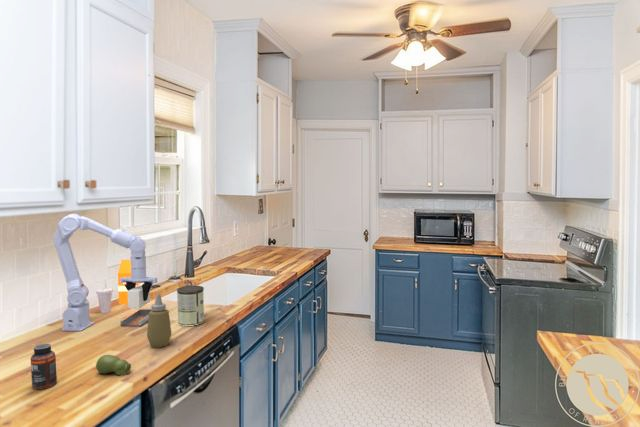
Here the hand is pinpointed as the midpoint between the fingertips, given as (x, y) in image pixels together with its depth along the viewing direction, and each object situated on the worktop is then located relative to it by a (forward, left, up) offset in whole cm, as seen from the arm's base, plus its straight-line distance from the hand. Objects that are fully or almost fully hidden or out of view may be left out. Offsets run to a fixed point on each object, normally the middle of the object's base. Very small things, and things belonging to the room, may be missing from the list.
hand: (139, 300), depth 179 cm
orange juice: (+26, +16, -8) cm, 32 cm away
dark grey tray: (0, 0, -8) cm, 8 cm away
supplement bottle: (-57, +1, -8) cm, 58 cm away
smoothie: (+10, +20, -8) cm, 24 cm away
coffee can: (-2, -22, -8) cm, 24 cm away
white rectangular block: (0, 0, -2) cm, 2 cm away
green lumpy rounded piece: (-48, -14, -9) cm, 51 cm away
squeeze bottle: (-26, -19, -8) cm, 33 cm away
